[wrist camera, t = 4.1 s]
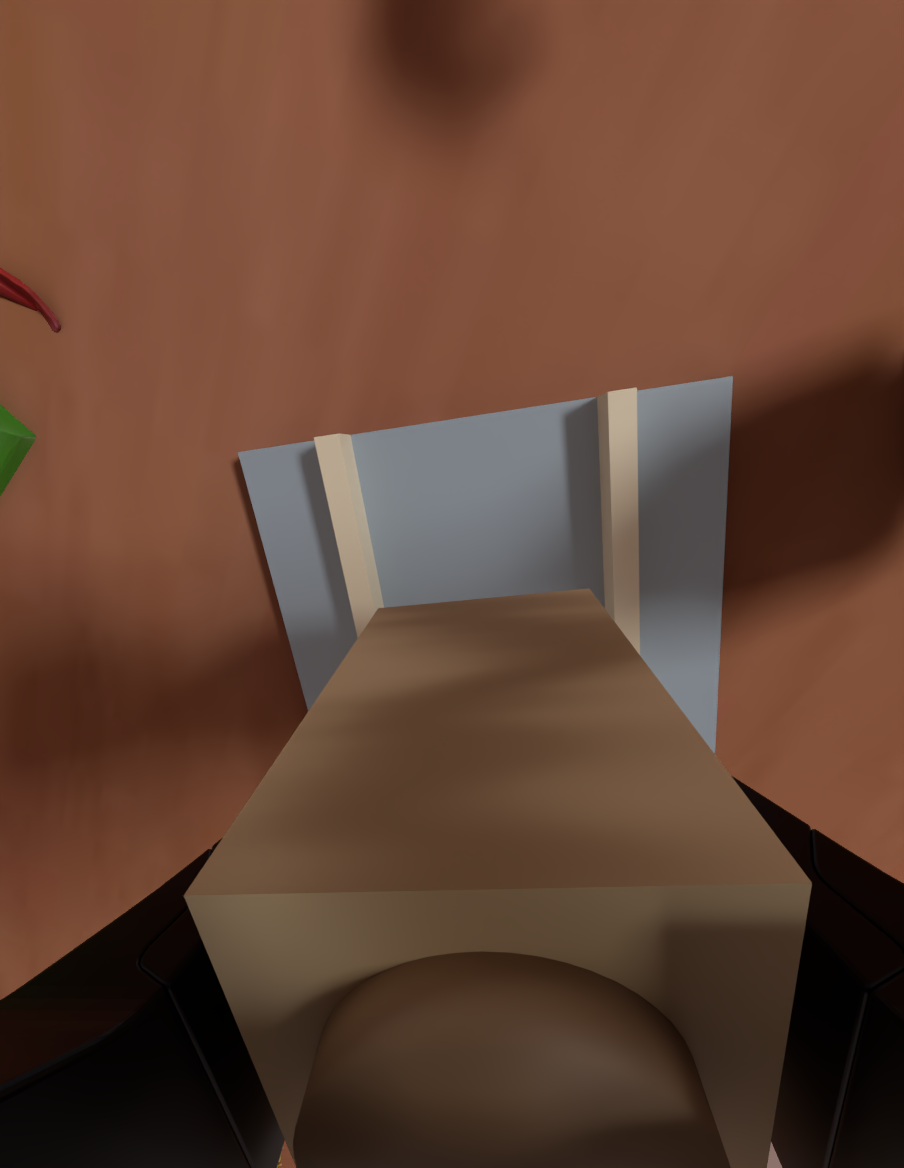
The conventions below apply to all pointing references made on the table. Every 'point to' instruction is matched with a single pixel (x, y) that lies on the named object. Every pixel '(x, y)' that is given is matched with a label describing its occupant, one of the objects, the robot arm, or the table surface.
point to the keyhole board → (512, 524)
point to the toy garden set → (3, 435)
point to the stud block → (506, 909)
